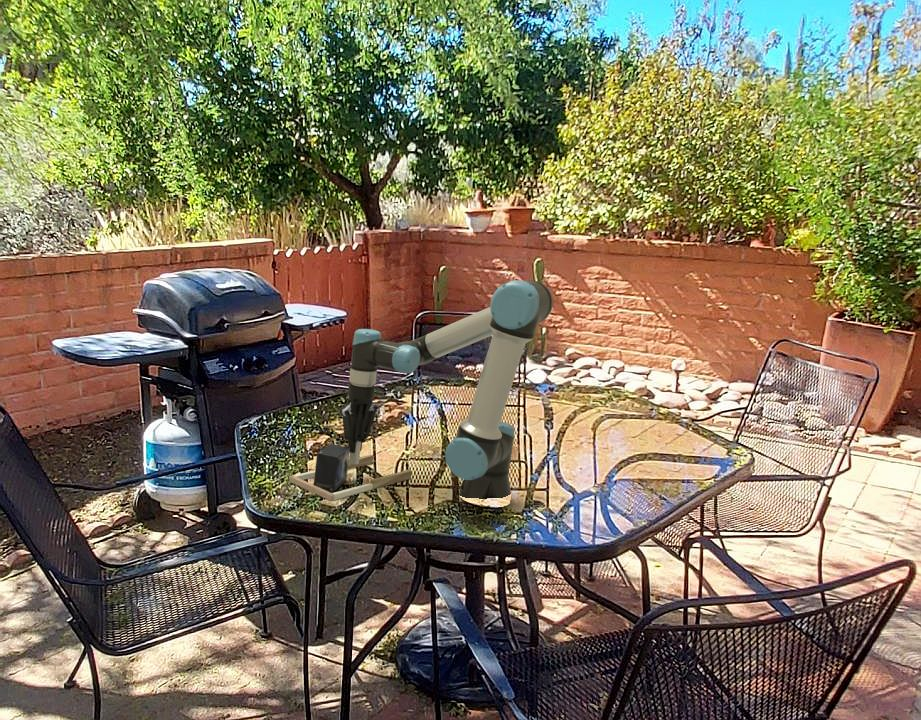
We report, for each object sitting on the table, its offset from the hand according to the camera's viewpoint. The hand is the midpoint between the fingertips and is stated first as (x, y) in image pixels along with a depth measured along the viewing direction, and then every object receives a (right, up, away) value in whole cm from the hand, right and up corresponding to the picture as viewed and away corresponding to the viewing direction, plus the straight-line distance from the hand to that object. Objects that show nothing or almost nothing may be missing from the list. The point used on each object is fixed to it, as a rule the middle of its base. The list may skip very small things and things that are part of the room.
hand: (353, 462), depth 216 cm
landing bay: (-6, -6, -6) cm, 10 cm away
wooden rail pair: (+4, -5, +7) cm, 9 cm away
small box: (-6, -6, -6) cm, 10 cm away
